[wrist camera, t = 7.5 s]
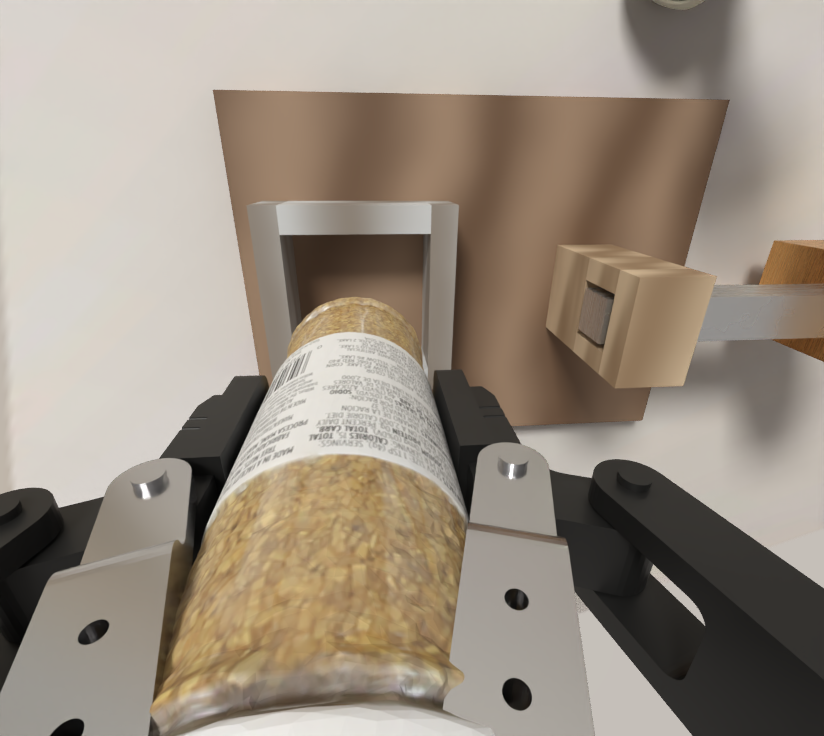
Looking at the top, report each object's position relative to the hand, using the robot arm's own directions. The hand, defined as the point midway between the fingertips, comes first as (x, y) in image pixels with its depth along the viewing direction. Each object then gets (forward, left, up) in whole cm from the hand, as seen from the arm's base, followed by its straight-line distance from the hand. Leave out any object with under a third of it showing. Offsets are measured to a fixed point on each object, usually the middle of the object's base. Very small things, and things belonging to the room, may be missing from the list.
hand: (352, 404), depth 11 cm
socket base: (-6, 0, -14) cm, 15 cm away
